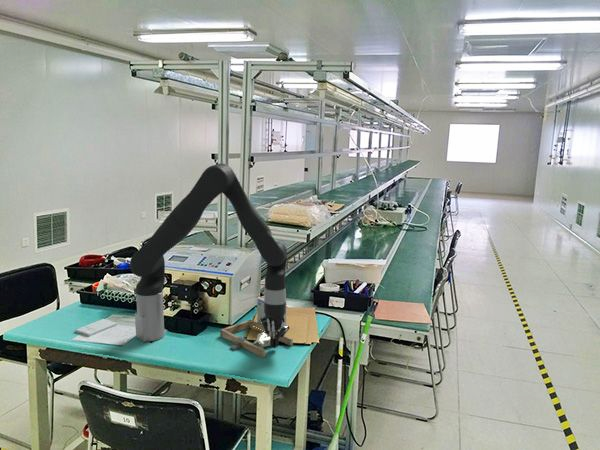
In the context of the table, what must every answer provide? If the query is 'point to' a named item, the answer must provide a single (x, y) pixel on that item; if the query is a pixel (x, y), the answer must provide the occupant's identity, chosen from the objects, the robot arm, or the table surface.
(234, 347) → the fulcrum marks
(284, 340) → the wooden frame
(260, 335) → the pipe fitting
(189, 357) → the table surface
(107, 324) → the external hard drive
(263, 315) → the light bulb box
